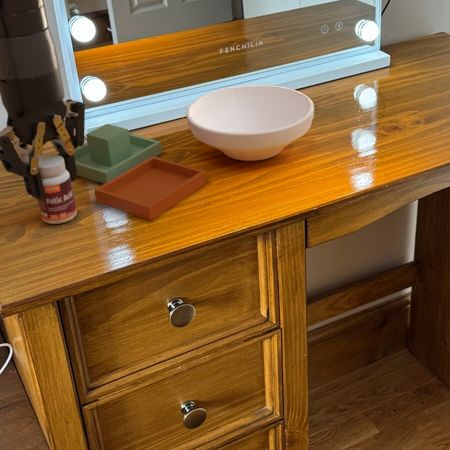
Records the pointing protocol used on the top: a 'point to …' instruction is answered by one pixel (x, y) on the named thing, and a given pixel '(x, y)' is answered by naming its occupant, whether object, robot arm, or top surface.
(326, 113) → the top surface
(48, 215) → the pill bottle
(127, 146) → the sage block
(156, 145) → the sage tray
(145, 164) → the reddish-brown tray
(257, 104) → the bowl
